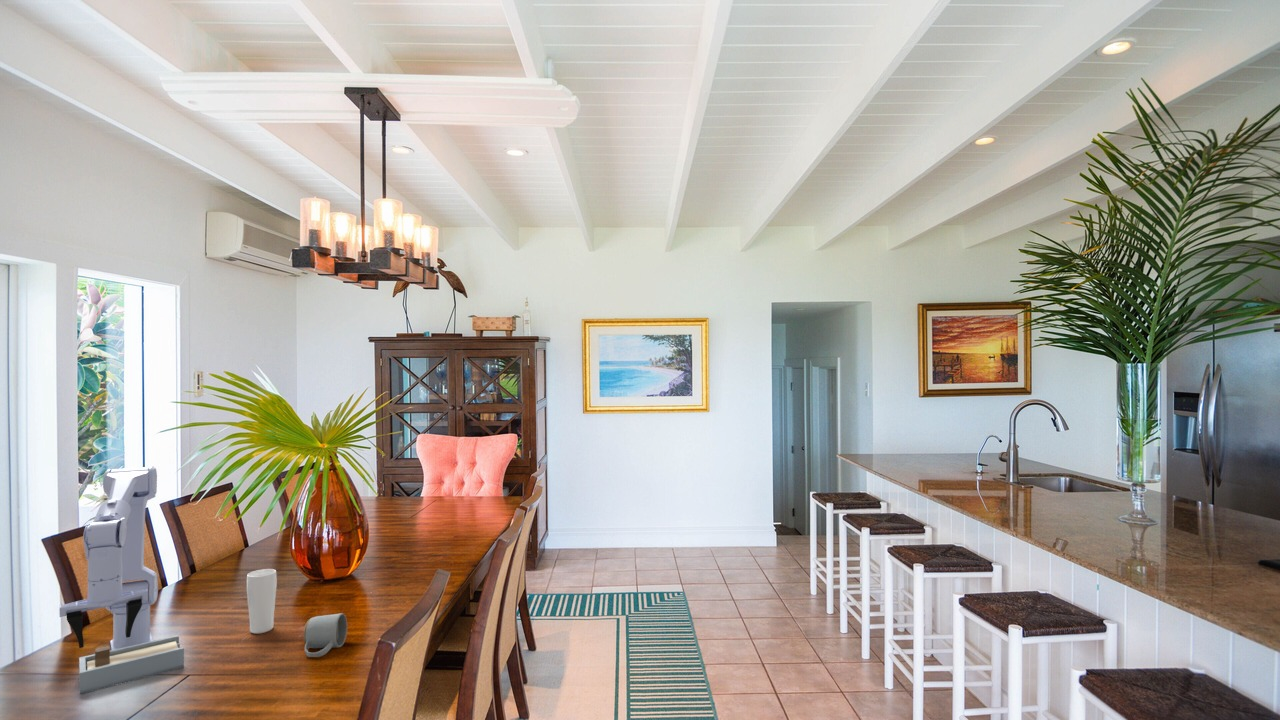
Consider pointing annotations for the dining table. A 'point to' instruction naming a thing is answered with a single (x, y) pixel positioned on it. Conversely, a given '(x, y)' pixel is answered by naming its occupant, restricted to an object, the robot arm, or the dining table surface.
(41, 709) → the dining table surface
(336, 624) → the ceramic mug
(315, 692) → the dining table surface
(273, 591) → the drinking glass
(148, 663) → the box
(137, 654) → the cover plate
